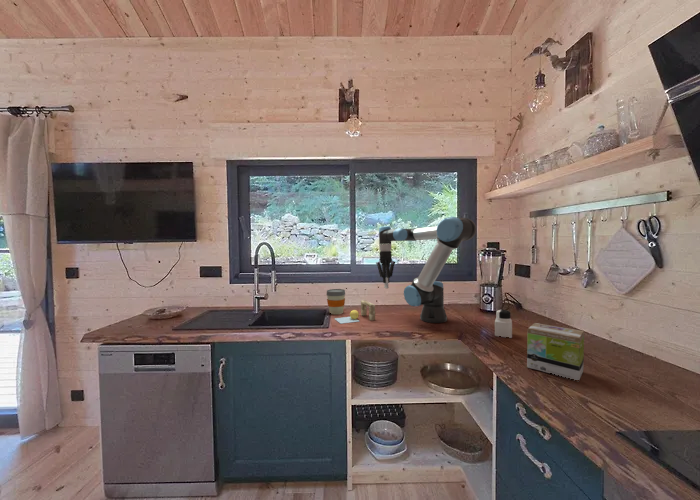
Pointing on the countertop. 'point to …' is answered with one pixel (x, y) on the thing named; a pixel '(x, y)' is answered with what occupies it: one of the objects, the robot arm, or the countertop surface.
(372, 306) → the bridge
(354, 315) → the ball
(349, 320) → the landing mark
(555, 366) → the tea box
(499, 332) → the medicine bottle
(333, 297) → the reusable coffee cup
